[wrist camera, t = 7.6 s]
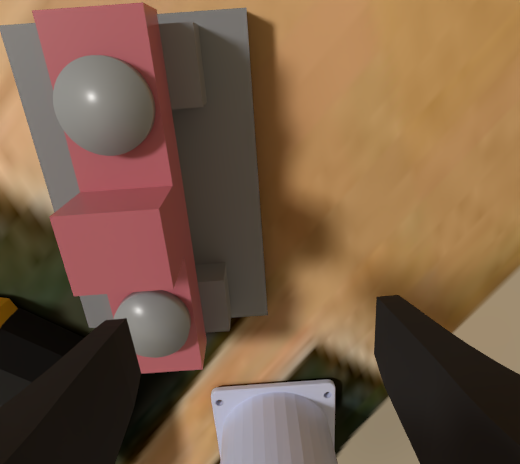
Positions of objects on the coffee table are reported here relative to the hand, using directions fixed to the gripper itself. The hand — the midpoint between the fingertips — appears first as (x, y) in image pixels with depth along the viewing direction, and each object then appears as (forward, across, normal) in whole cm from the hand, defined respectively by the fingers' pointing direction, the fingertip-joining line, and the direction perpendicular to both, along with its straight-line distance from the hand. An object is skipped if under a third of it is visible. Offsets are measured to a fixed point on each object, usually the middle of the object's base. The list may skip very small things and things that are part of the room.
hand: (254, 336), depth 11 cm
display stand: (+10, +4, -2) cm, 11 cm away
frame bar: (+7, +4, -2) cm, 9 cm away
